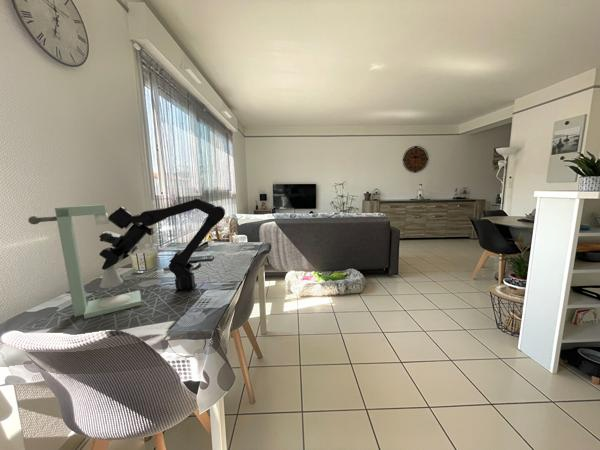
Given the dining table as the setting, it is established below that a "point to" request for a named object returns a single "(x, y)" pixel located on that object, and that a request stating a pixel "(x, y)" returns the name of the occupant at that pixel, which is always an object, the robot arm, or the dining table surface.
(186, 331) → the dining table surface
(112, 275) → the flask
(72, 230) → the bench press
